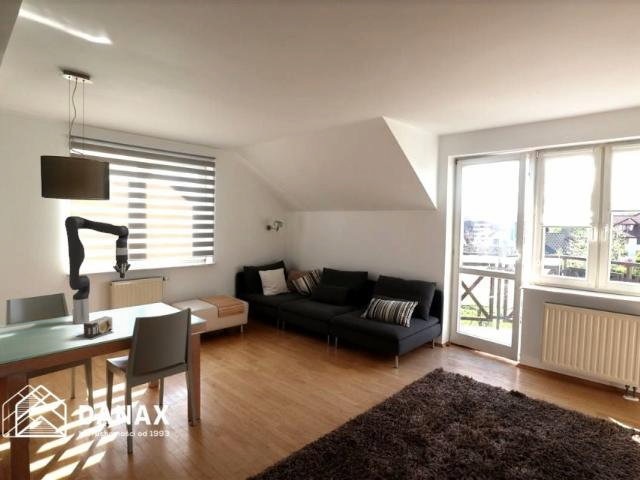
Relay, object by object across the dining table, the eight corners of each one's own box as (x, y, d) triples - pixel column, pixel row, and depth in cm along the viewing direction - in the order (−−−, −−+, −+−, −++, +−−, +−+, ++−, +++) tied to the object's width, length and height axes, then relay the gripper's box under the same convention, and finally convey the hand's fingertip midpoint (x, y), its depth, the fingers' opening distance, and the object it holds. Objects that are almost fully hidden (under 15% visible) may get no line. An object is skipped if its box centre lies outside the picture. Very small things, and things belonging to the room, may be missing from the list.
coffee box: (113, 330, 235) (91, 338, 219) (105, 329, 236) (83, 337, 221) (112, 316, 234) (91, 324, 218) (104, 315, 236) (82, 323, 220)
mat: (76, 336, 223) (76, 336, 223) (98, 329, 237) (98, 328, 237) (92, 339, 218) (92, 339, 218) (113, 332, 232) (113, 331, 232)
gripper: (125, 252, 257) (126, 276, 258) (109, 254, 245) (110, 279, 246) (133, 253, 255) (134, 277, 256) (117, 255, 242) (117, 280, 243)
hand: (122, 278), depth 251 cm, fingers closed
